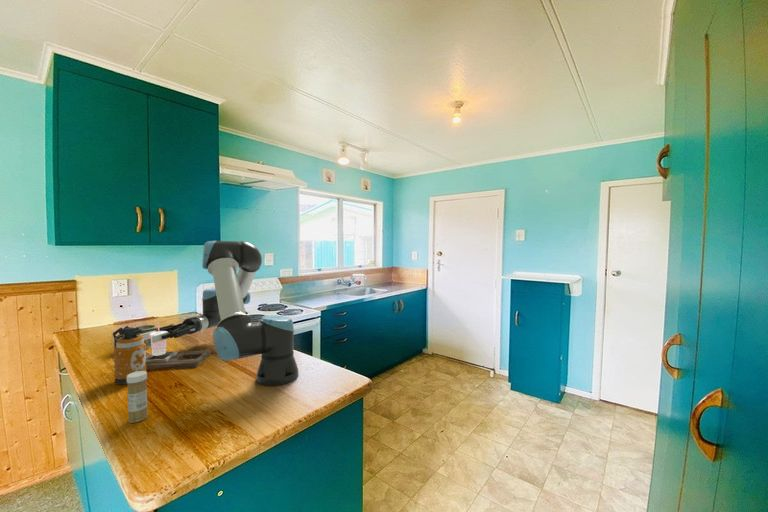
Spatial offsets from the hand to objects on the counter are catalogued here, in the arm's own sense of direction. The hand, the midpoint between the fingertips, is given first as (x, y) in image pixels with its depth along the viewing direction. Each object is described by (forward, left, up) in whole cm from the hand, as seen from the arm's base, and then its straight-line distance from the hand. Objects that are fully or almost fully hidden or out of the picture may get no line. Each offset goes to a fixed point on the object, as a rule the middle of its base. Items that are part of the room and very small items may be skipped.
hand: (146, 338), depth 125 cm
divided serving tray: (+5, -8, -12) cm, 15 cm away
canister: (-12, 0, -12) cm, 17 cm away
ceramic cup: (+28, +16, -12) cm, 34 cm away
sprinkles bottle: (-41, -19, -12) cm, 47 cm away
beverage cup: (+5, -2, -8) cm, 10 cm away
